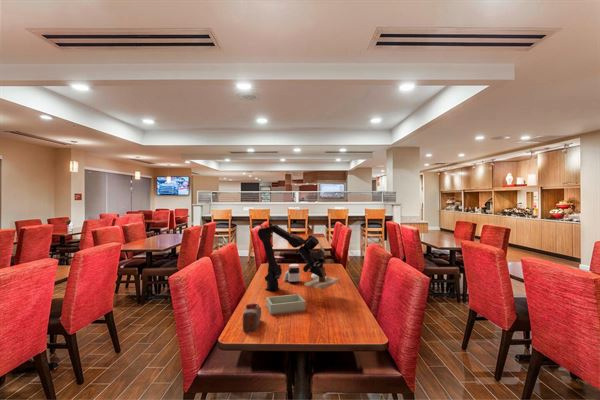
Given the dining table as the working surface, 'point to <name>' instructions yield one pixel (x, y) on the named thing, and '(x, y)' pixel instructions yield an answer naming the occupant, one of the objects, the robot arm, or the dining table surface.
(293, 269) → the spread jar
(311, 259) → the robot arm
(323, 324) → the dining table surface
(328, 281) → the lid
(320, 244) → the flower in vase
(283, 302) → the grey rectangular tray
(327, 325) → the dining table surface
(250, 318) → the food item
